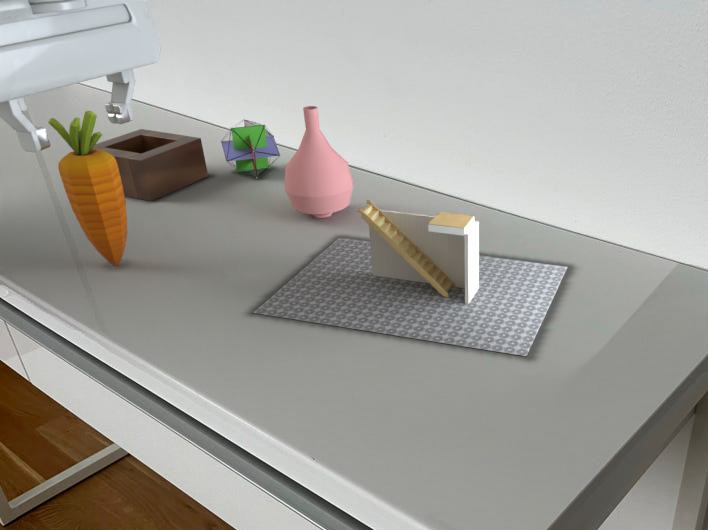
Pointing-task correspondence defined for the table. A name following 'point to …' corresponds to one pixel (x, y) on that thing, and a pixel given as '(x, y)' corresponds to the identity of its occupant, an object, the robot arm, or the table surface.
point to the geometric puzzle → (250, 147)
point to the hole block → (156, 162)
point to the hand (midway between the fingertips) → (82, 135)
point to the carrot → (94, 188)
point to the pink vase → (317, 173)
